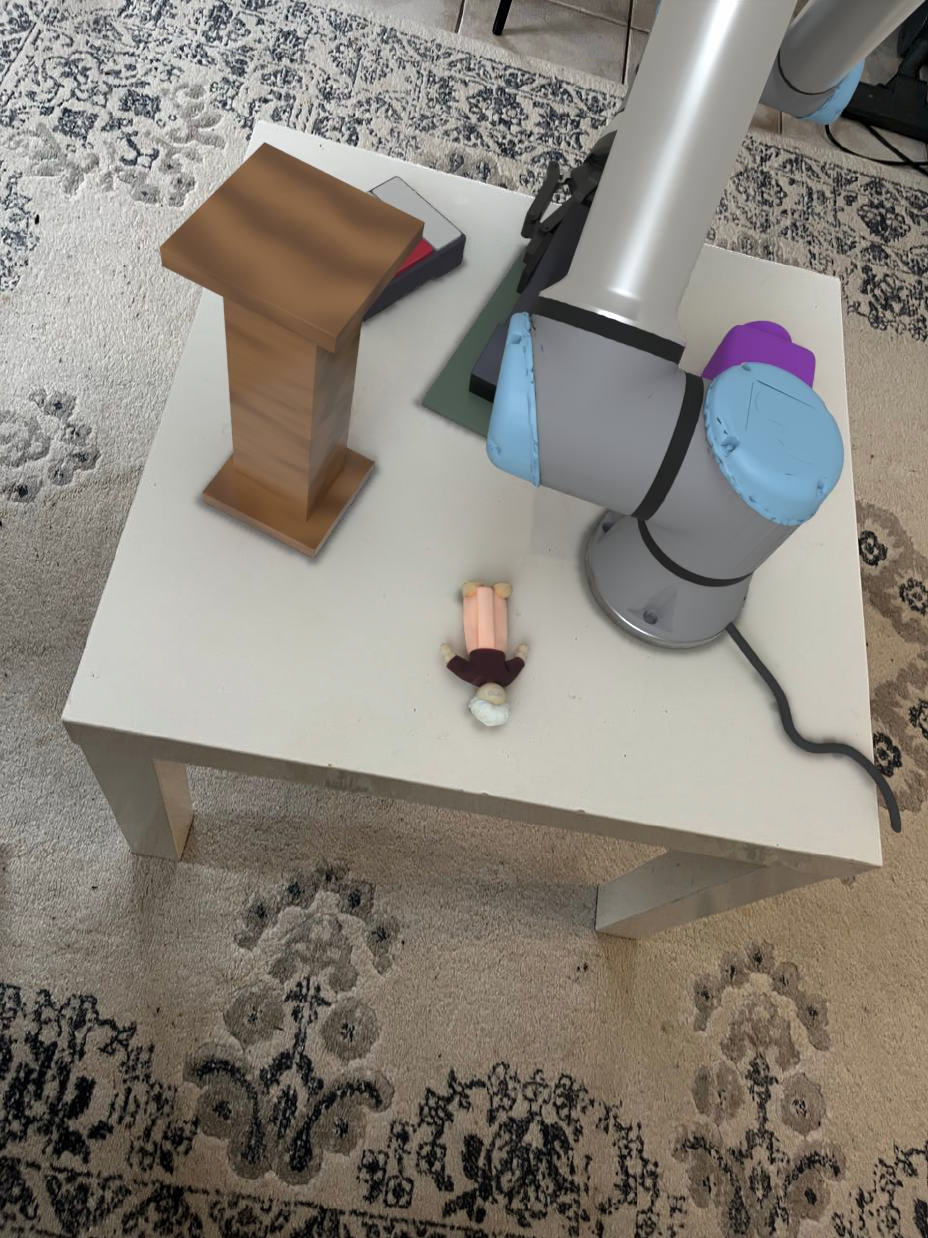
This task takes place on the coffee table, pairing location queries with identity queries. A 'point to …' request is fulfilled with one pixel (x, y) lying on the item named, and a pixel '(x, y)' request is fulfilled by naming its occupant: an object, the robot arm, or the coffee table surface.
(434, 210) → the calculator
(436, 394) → the mat
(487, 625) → the grandmother figurine
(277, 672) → the coffee table surface
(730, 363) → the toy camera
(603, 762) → the coffee table surface
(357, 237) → the stand
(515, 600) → the coffee table surface
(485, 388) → the black square bar
